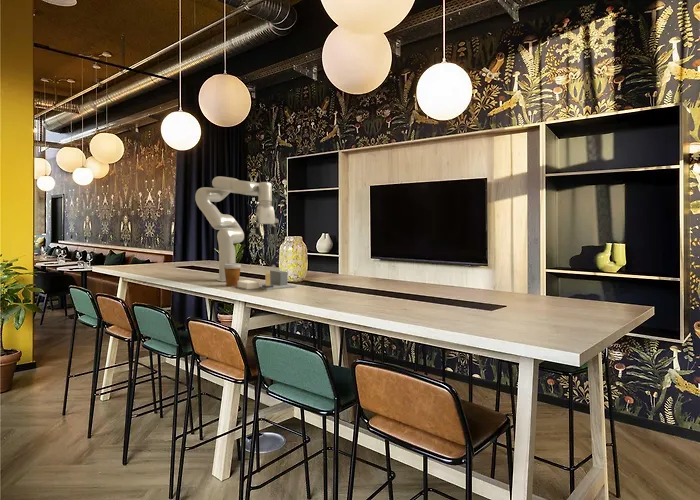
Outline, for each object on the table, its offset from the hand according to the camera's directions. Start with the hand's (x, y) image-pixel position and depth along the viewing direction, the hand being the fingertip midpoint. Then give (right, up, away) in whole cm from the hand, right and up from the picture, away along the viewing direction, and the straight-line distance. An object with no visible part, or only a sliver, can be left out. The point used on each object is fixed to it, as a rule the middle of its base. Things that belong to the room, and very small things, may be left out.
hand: (265, 234), depth 264 cm
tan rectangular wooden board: (+5, -28, -22) cm, 36 cm away
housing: (+7, -29, -11) cm, 32 cm away
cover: (-6, -29, -16) cm, 34 cm away
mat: (-6, -29, -16) cm, 34 cm away
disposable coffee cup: (-16, -29, -8) cm, 34 cm away
